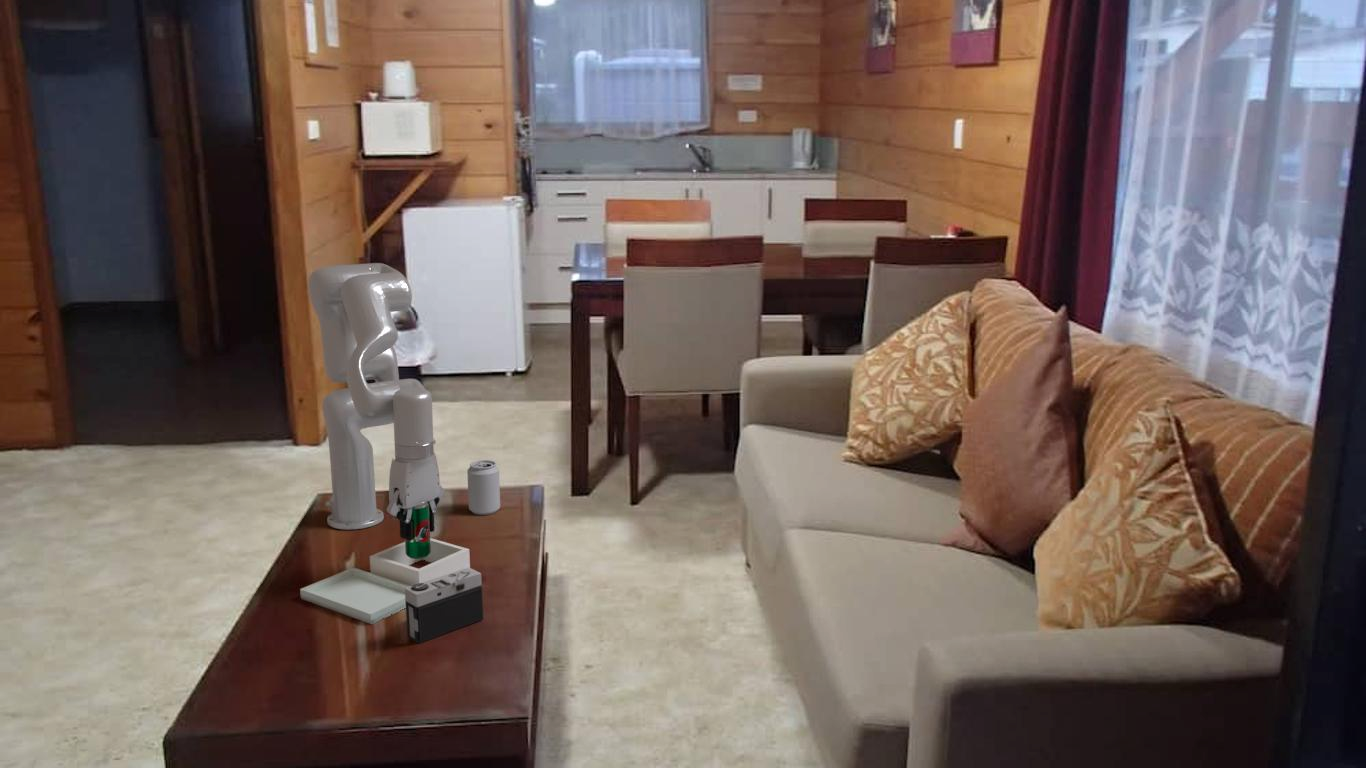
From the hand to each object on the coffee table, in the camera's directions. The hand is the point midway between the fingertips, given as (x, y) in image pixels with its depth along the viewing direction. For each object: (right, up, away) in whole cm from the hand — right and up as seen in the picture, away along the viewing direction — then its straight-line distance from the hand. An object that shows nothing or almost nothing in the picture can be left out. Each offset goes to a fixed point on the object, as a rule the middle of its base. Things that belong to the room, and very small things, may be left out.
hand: (417, 533), depth 219 cm
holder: (0, -9, +1) cm, 9 cm away
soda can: (0, -5, +1) cm, 5 cm away
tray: (-8, -11, -10) cm, 17 cm away
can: (+6, 0, +39) cm, 40 cm away
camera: (+9, -14, -20) cm, 27 cm away
